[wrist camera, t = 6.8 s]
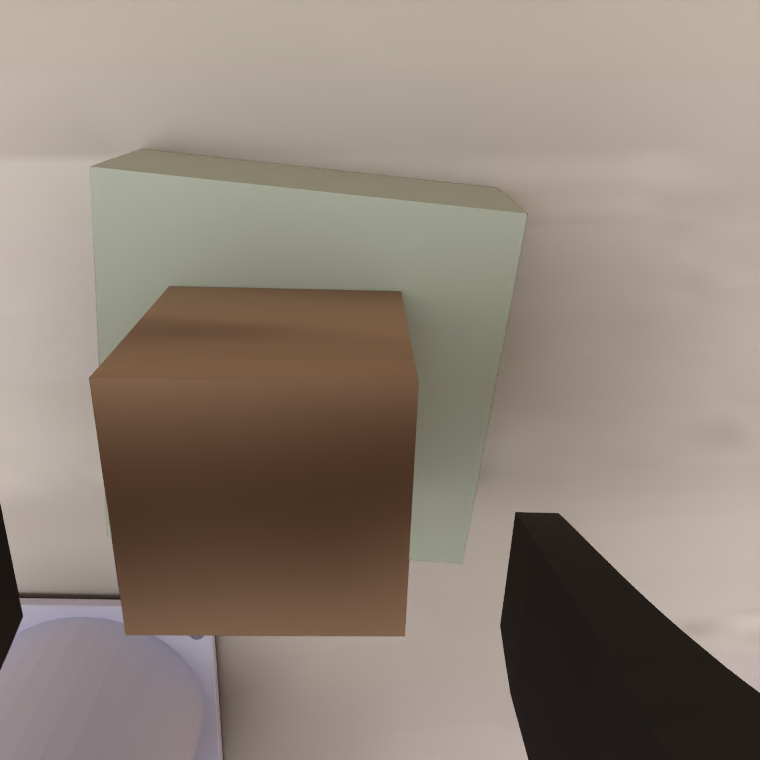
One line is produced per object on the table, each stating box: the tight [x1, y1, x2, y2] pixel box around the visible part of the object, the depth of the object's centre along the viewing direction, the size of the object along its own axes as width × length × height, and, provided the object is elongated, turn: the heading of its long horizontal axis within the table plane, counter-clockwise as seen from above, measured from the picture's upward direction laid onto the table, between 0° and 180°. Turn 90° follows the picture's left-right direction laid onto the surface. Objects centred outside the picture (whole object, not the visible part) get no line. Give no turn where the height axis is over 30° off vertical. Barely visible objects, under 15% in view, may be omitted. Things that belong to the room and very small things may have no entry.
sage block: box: [90, 149, 528, 564], centre depth 18 cm, size 9×9×4 cm
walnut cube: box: [89, 286, 419, 636], centre depth 14 cm, size 5×5×5 cm
